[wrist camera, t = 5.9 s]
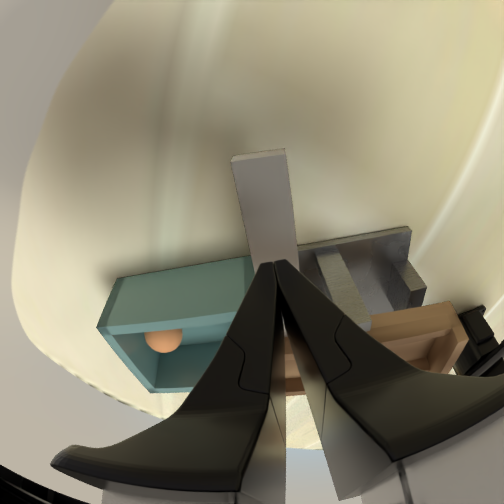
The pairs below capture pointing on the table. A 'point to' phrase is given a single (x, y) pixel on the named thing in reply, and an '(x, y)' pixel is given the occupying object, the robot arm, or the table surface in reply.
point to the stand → (365, 273)
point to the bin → (174, 319)
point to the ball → (164, 340)
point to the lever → (285, 247)
